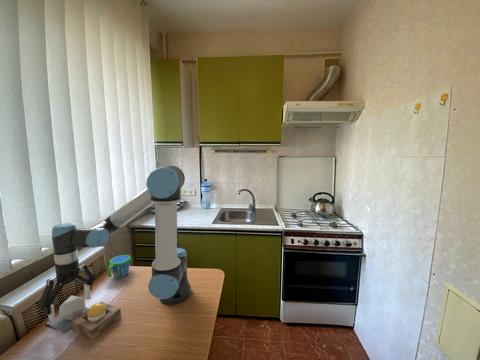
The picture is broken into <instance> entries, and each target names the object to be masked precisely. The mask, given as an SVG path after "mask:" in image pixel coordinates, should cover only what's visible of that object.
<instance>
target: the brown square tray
mask: <svg viewBox="0 0 480 360" xmlns="http://www.w3.org/2000/svg"><path fill="white" fill-rule="evenodd" d="M98 303H102V304H103V305H104V306H105V312H106V315H105V316H103V317H102V318H101V319H99V320H98V321H96V322H95V323H92V322H90V321H88V310H87V311H86V312H84V313H83V314H81V315H80V316H78V317H76V318H75V319H73V320H72V321H71V325H72V329H71V331H73V332H75V333H77V334H79V335H82V336H83V337H85V338H87V339H90V340H92V341H93V340H94V339H96V338H97V337H99V336H100V334H102V333H103V332H105V331H106V330H108V328H110V326H112V325H113V324H114V323H115V322H117V321H118V320H119V319H121V318H122V313H121V311H122V310H121V308H120V307H117V306H115V305H112V304H109V303H106V302H103V301H99V302H98Z"/></svg>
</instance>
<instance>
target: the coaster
mask: <svg viewBox="0 0 480 360" xmlns="http://www.w3.org/2000/svg"><path fill="white" fill-rule="evenodd" d="M89 308H90V307H86V306H85V309H84V310H83V311H82V312H81V313H80V314H79V315H78V316H80V315H81V314H83V313H84V312H86V311H87V310H89ZM71 321H72V320H68V319H62V318H59V315H57V316H55V321H53V322H52V321H50V320H48V321H47V322H45V325H46V324H47V326H48V325H49V327H50V326H51V327H50V328H53V329H55V330H57V331H58V332H61V333H63V334H66V333H67V332H69V331H70V330H72V325H71Z"/></svg>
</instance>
